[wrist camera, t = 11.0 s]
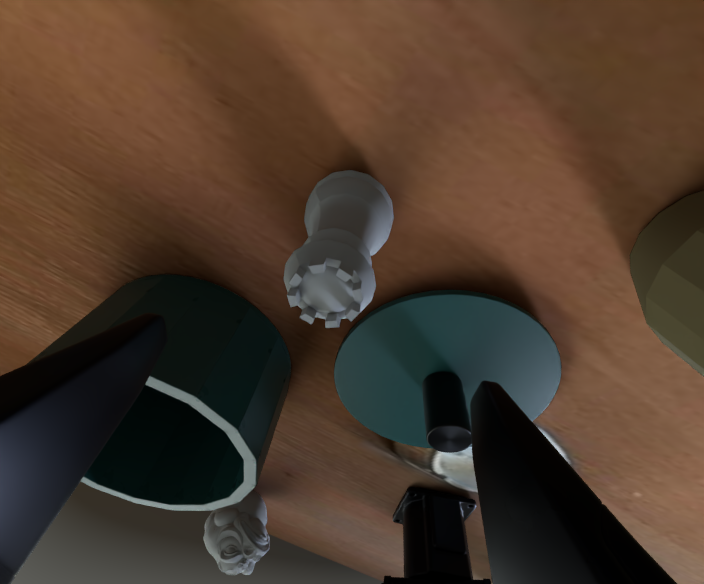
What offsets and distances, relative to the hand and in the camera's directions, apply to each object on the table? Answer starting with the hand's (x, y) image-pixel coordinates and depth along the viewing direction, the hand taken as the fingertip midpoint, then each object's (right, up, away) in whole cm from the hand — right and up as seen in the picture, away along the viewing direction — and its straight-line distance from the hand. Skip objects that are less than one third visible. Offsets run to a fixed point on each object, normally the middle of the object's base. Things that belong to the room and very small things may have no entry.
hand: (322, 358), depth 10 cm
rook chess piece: (+1, +6, +8) cm, 11 cm away
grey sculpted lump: (-10, -19, +26) cm, 34 cm away
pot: (-10, -3, +15) cm, 19 cm away
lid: (+7, -4, +13) cm, 16 cm away
